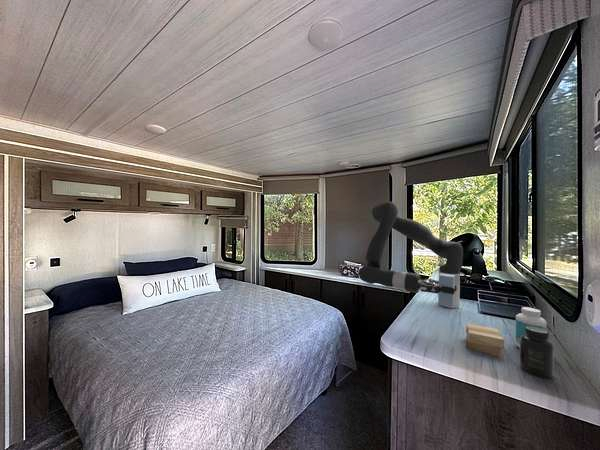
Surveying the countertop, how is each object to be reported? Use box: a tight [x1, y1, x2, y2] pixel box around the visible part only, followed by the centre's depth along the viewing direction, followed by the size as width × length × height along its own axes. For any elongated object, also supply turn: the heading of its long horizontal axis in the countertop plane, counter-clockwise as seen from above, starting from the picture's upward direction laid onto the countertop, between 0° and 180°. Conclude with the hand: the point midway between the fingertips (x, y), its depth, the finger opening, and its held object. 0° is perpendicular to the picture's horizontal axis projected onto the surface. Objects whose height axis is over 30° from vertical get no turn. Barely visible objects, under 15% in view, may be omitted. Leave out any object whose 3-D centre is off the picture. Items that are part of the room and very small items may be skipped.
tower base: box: [465, 335, 502, 358], centre depth 80 cm, size 9×9×3 cm
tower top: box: [465, 322, 505, 350], centre depth 80 cm, size 9×9×3 cm
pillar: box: [437, 273, 455, 308], centre depth 87 cm, size 4×4×11 cm
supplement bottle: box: [519, 326, 555, 379], centre depth 67 cm, size 7×7×12 cm
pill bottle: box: [514, 306, 548, 349], centre depth 79 cm, size 8×7×14 cm
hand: (455, 289), depth 85 cm, fingers closed on pillar, 4 cm apart
